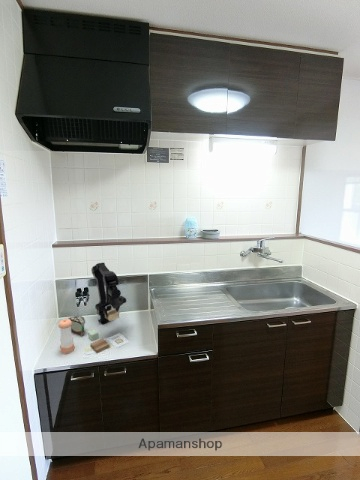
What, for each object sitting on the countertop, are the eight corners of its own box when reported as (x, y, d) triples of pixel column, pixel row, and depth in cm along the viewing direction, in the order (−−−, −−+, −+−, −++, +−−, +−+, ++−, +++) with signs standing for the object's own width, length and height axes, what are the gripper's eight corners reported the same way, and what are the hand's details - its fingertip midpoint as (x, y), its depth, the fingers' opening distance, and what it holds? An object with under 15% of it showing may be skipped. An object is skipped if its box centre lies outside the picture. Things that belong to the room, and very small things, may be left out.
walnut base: (90, 347, 147) (90, 343, 147) (103, 341, 153) (103, 338, 152) (96, 353, 142) (96, 350, 141) (109, 347, 147) (109, 344, 147)
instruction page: (106, 338, 155) (106, 338, 155) (119, 333, 161) (119, 332, 161) (115, 347, 146) (115, 347, 146) (129, 341, 152) (129, 341, 152)
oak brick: (104, 317, 159) (104, 312, 158) (114, 313, 163) (113, 308, 163) (109, 321, 154) (109, 316, 154) (119, 317, 159) (119, 312, 158)
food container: (90, 332, 162) (89, 317, 160) (83, 337, 156) (82, 322, 154) (76, 327, 167) (75, 313, 165) (68, 332, 162) (67, 318, 159)
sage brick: (88, 337, 156) (88, 332, 155) (95, 335, 159) (95, 329, 158) (91, 341, 153) (91, 335, 152) (98, 338, 156) (98, 332, 155)
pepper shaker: (70, 344, 149) (67, 314, 145) (76, 349, 145) (74, 319, 141) (58, 350, 144) (55, 319, 140) (64, 355, 139) (61, 324, 135)
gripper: (102, 301, 143) (104, 326, 147) (130, 292, 156) (131, 315, 159) (94, 295, 151) (95, 319, 154) (121, 287, 164) (122, 309, 167)
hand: (111, 315), depth 159 cm, fingers closed on oak brick, 6 cm apart
